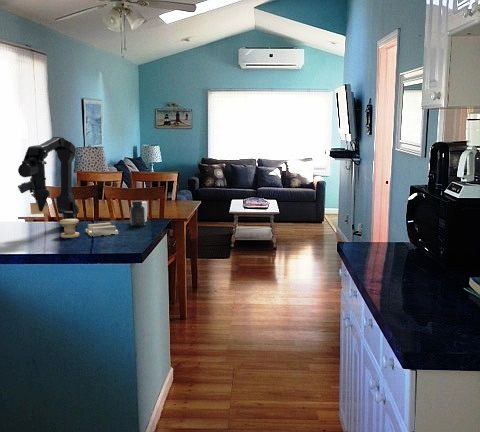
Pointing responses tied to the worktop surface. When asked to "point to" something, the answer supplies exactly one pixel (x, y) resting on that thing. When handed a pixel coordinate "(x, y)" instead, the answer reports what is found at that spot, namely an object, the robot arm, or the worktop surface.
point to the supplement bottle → (137, 214)
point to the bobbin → (69, 228)
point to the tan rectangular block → (35, 208)
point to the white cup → (144, 204)
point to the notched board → (101, 229)
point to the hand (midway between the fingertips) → (40, 210)
